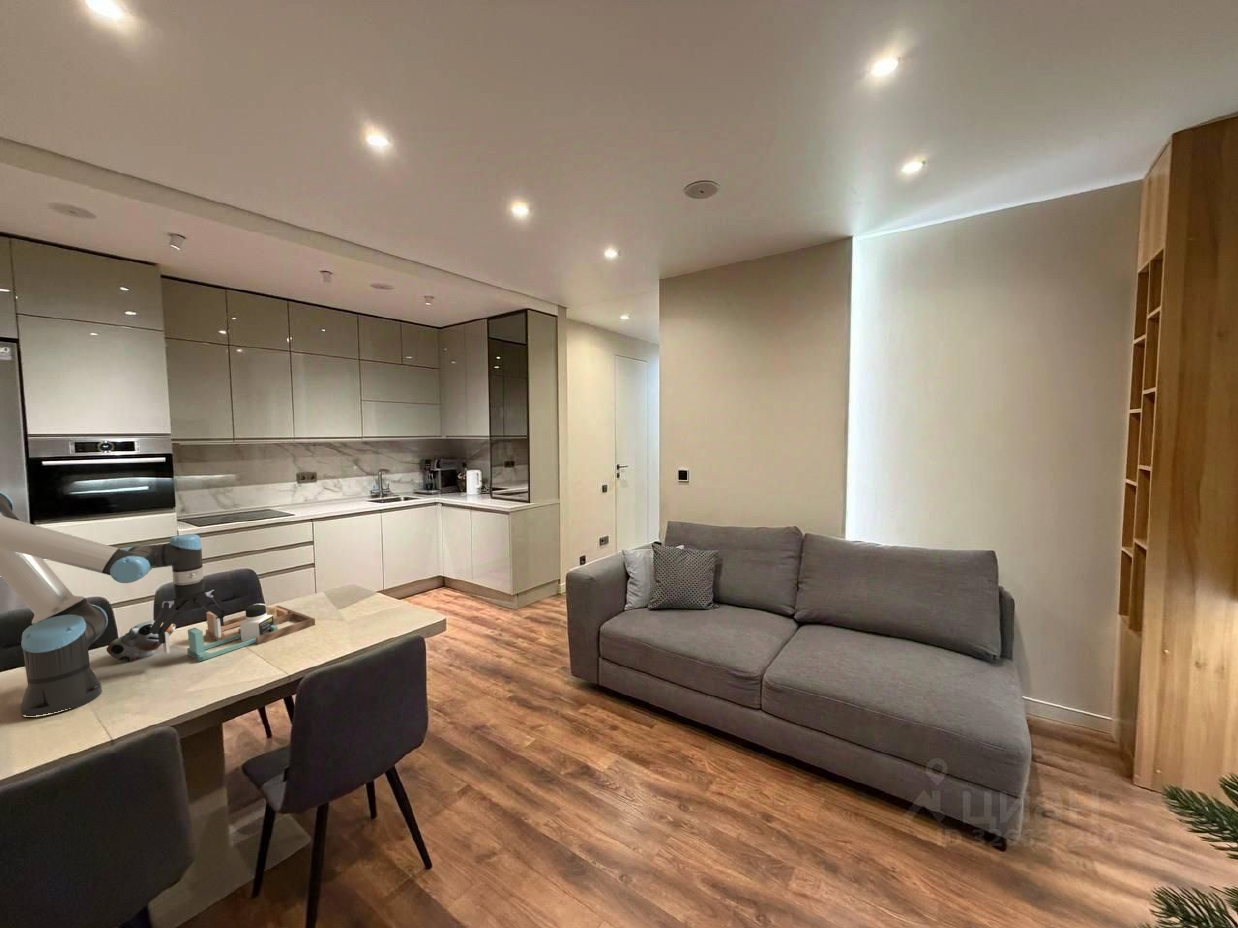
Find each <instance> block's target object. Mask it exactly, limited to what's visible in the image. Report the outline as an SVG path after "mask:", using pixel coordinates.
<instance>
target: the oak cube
mask: <svg viewBox="0 0 1238 928" xmlns="http://www.w3.org/2000/svg"><path fill="white" fill-rule="evenodd" d="M274 607H275V606H266V613H267V615H273V618H276V617H277V613H276V608H274Z"/></svg>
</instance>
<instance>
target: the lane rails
mask: <svg viewBox="0 0 1238 928" xmlns="http://www.w3.org/2000/svg"><path fill="white" fill-rule="evenodd" d="M274 607H278V608H281V609H283V610H286V611H288V614H285V615H282V616H279V617H276V618H273V622H274V625H275V626H278V625H281V624H284V623H287V622H289V621H293V620H295V621H297V622H296V623H294V624H290V625H288V626H284V627H282V628H278V630H275V631H272V632H269V633H266V634H263V635H260V636H257V637H256V642H255V644H256V645H262V644H265V643H268V642H270V641H273V640H276V639H278V638H282V637H284V636H287V635H290V634H293V633H296V632H299V631H301V630H304V629H308V628H311V627H313V626H315V625H316V618H314V617H312V616H309V615H306V614H303V613H300V612H298V611H294V610H293V609H289V608H287V607H284V606H282V605H274ZM243 620H246V614H245V615H242V616H238V617H236V618H235V617H234V618H231V619H228V620H223V622H224V625H223V626H227V625H230V624H233V623H236V622H240V621H243ZM223 626H222V627H223ZM238 630H239V634H241V630H240V628H238Z"/></svg>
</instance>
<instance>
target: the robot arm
mask: <svg viewBox="0 0 1238 928" xmlns="http://www.w3.org/2000/svg"><path fill="white" fill-rule="evenodd" d="M14 506H15V505H14V502H13V500H12V498H11V497H10V496H9V495H8V494H7V493H5V492H4V491H1V490H0V578H2V580H3V581H4V582H5V583H6V584H7V585H8V586H9V587H10V589H11V590H13V592H14V593H15V594H16V595H17V596H18V598H20V600H21V601H22V602H23V603H24V604H25V605H26V606H27V608H28V609H30V611H31V612H32V613H33V614H34V615H33V618H32V620H31V624H32V625H29V626H27V627H26V629H25V630H24V631H23V632H22V634H21V644H20V646H21V648H22V652H23V654H22V655H23V661H24V666H25V669H24V670H25V674H26V675H25V676H26V682H27V686H26V689H25V692H24V694H23V698H22V701H21V704H20V706H19V707H20V708H19V709H20V714H22V715H26V716H36V715H43V714H48V713H54V712H58V711H61V710H65V709H69V708H74V709H76V708H75V707H77V706H79V707H81V706H83V705H82V704H84V705H86V704H88V703H89V701H90V702H92V701H93V700H95V699H96V698H98V697H99V696H100V695H101V694H102V692H103V687H102V683H101V682H100V680H99V678H98V677H97V676H96V674H95V672H94V671H93V669H92V668H91V664H90V663H91V662H90V655H89V654H90V653H89V647H90V646H91V645H93V643H95V641H97V640H98V639H99V638H100V637H101V636H102V635H103V634H104V632H105V631H106V628H107V627H108V624H109V619H108V617H109V616H108V615H107V612H106V611H105V610H104V609H103V608H102V607H100V606H98V605H95V604H91V603H90V602H89V601H88V600H87V598H86V597H85V596H82V595H81V596H79V595H74V594H73V593H72V591H70V589H69V588H68V587H67V586H66V585H65V583H64V582H63V581H62V580H61V579H60V577H58V575H57V574H56V573H55V572H54V571H53V570H52V568H51V567H50V566H49V565H48V564H47V562H46V561H45V560H47V561H51V562H56V563H60V564H63V565H68V566H72V567H76V568H78V569H79V568H80V569H84V570H87V571H91V572H95V573H98V574H99V573H100V574H104V575H107V576H110V577H111V578H112V579H113V580H114V581H115V582H118V583H121V584H130V583H135V582H137V581H139V580H141V579H143V578H144V577H145V576H147V575H148V574H149V573H150V571H151V570H152V569H158V568H159V569H160V568H167V567H171V572H172V582H173V584H174V585H173V596H174V598H173V600H169V601H167V600H163V601H162V602H161V605H160V606H161V607H160V609H159V611H158V614H157V616H156V618H155V619H154V620H153V621H154V623H153V625H152V627H151V629H150V632H151V633H152V634H158V638H159V643H161V645H162V647H163V652H164V653H166V654H170V653H171V649H170V648H171V647H170V636H169V635H168V632H166V631H167V629H168V628H169V627H170V626H171V624H172V623H173V624H174V622H175V621H176V619H177V618H178V617H179V616H180V615H182V613H183V612H188V611H191V610H196V609H198V608H199V607H202V608H204V609H205V610H206V611H207V612H211V613H213V614H214V615H216V616H217V617H214V626H215V636H216V637H218V638H219V637H221V627H223V625H224V618H225V616H226V615H229V614H230V613H231V612H230V610H229V608H227V606H226V605H225V604H224V603H223V601H222V600H221V599H220V597H218V593H217V592H218V591H216V590H214V589H210V590H209V591H207V592H205V583H204V582H205V581H204V580H203V579H204V569H203V568H204V565H203V552H202V551H203V550H202V548H203V547H202V544H201V537H200V535H198V534H195V533H190V534H189V533H188V534H187V533H186V534H180V535H175V536H172V537H170V538H169V542H166V543H160V544H159V543H158V544H157V543H156V544H147V545H133V546H129V547H123V548H118V547H115V546H112V545H108V544H105V543H100V542H97V541H94V540H89V539H86V538H82V537H79V536H75V535H72V534H69V533H64V532H61V531H57V530H54V529H49V528H46V527H43V526H40V525H36V524H32V523H30V522H29V523H28V522H25V521H21V520H20V519H19V518H18V516H17V515H16V514H15V512H14ZM207 597H208V598H210V599H211V600H212V601H213V602H214V604H216V606H217V608H219V609H220V610H221V611H218V610H217V609H216V608H214V607H212V606H210V605H209V604H208V603H206V602H205V600H206V598H207ZM173 605H174V606H175V607H174V608H173V610H172V612H171V614H170V615H168V617H167V614H168V612H169V610H170V608H172V606H173ZM166 617H167V618H166ZM165 618H166V619H165ZM162 622H163V624H162ZM161 624H162V626H161ZM160 626H161V627H160ZM91 700H92V701H91ZM87 702H88V703H87ZM85 703H86V704H85ZM80 705H81V706H80ZM77 708H78V707H77Z"/></svg>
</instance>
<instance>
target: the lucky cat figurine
mask: <svg viewBox="0 0 1238 928" xmlns="http://www.w3.org/2000/svg"><path fill="white" fill-rule="evenodd" d="M154 621H155V620H149V621H146V622H145V621H144V622H141V623H138V624H136V625H134V626H132V627H131V628H130V629H129V630H128V632H127V633H125V634H124V635H121V636H120V637H118V638H116V639H115V638H114V639H113V640H112V641H111V642H110V643H109V644H108V645H107V647H106V652H107V654H109V655H110V656H111V657H112V658H114V659H116V660H118V661H124V660H126V661H127V662H128V663H129V662H134V661H138V660H141V659H142V660H143V659H145V658H149V657H151V656H153V654H155V653H156V652H157V651H158V649H159V648H160V647H161V646H162V644H161V643H159V638H158V634H152V633H151V632H150V629H151V627H152V625H153V623H154ZM163 623H164V621H163V622H162V624H163ZM162 624H161V626H162ZM161 626H160V627H161ZM176 627H177V624H175V623H174V622H173V623H172V624H171V626H170V627H169V628H168V629H167V631H166V632H168V635H169V637H170V636H171V635H172V634H173V633H174V632H175V630H176Z"/></svg>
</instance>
